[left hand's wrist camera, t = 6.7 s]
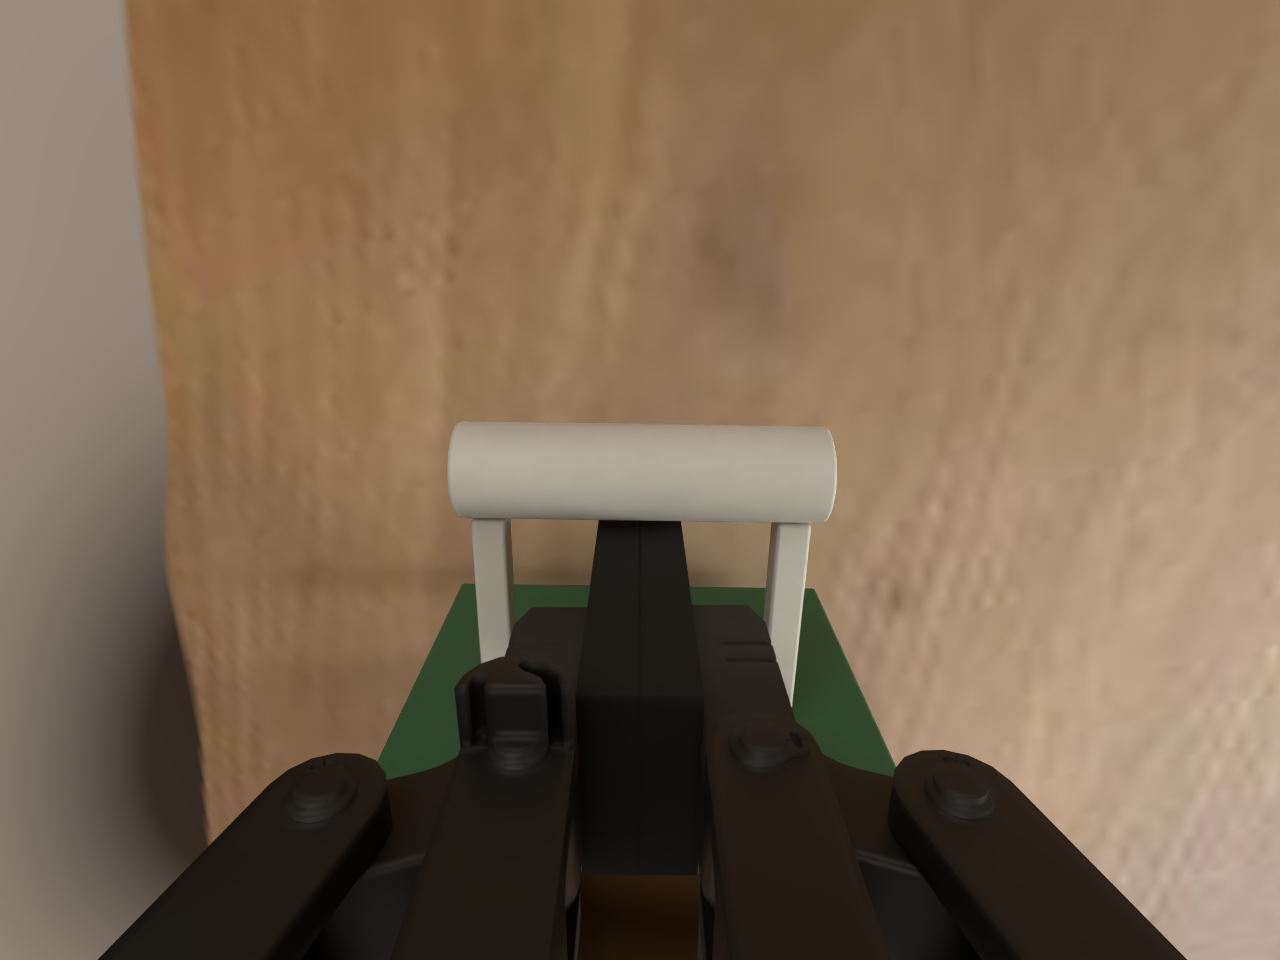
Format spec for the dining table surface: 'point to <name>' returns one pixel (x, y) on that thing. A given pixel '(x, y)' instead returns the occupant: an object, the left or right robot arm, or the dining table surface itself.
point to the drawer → (690, 491)
